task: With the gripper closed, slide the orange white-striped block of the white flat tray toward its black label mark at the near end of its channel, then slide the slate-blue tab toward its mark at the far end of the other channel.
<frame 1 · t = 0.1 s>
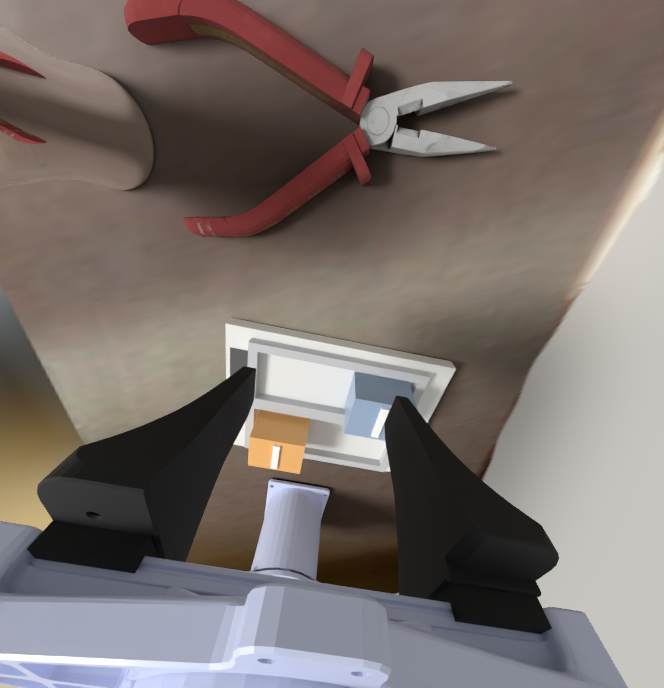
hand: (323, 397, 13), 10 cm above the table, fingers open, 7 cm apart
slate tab: (377, 408, 22), point 3 cm above the table, slide at -4.0 cm
pliers: (311, 163, 17), on the table
beer glass: (109, 135, 17), on the table
white flat tray: (328, 402, 26), on the table
orange white-striped block: (279, 441, 25), point 3 cm above the table, slide at 4.0 cm
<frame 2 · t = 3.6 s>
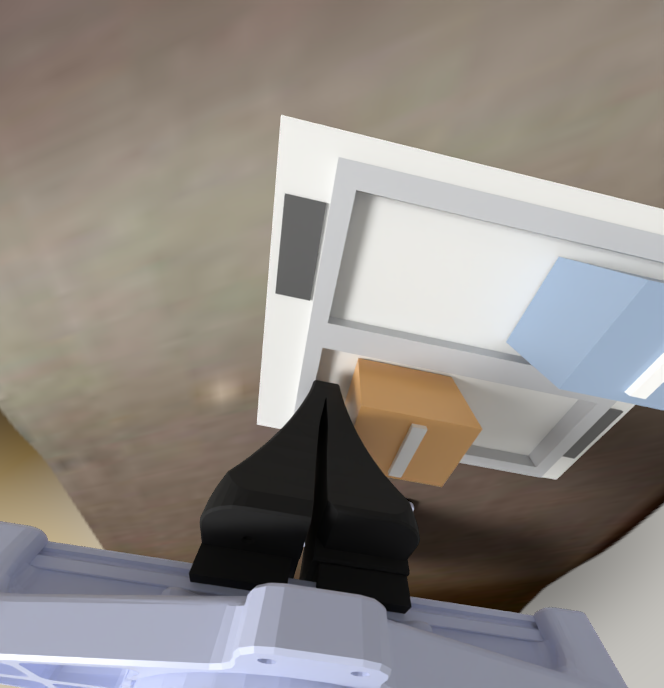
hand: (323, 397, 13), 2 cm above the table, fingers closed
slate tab: (622, 333, 10), point 3 cm above the table, slide at -4.0 cm
white flat tray: (454, 344, 14), on the table
orange white-striped block: (398, 421, 13), point 3 cm above the table, slide at 2.6 cm, touching gripper
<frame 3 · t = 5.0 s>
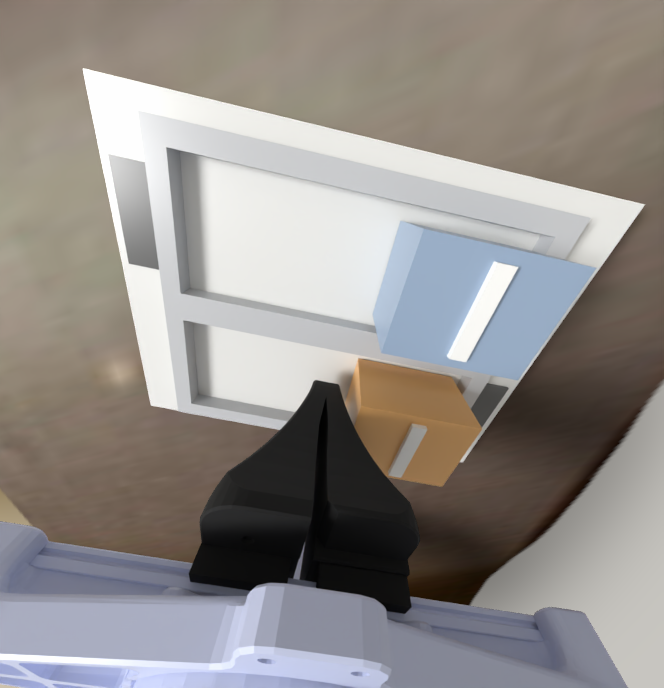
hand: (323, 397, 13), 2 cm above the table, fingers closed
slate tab: (457, 297, 9), point 3 cm above the table, slide at -4.0 cm
white flat tray: (336, 320, 14), on the table
orange white-striped block: (398, 421, 13), point 3 cm above the table, slide at -3.9 cm, touching gripper
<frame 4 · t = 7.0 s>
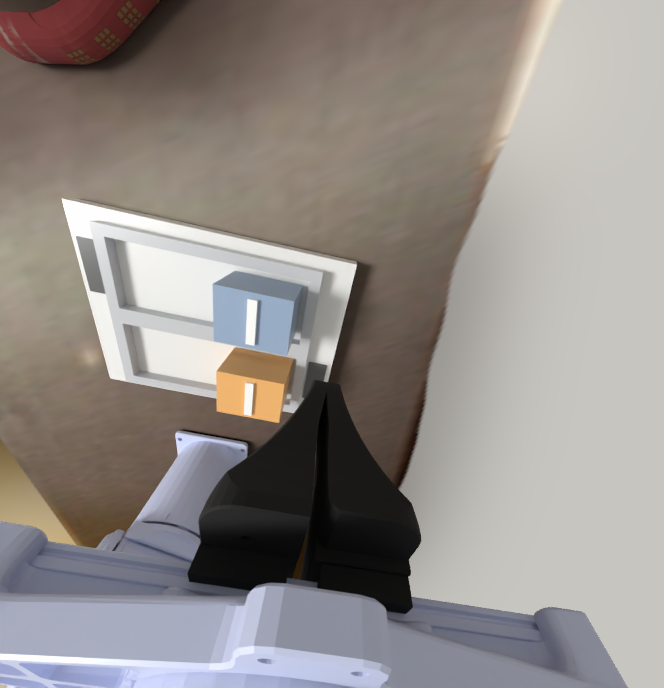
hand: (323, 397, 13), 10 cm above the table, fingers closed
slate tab: (259, 312, 18), point 3 cm above the table, slide at -4.0 cm
white flat tray: (221, 323, 22), on the table
orange white-striped block: (256, 385, 21), point 3 cm above the table, slide at -4.1 cm
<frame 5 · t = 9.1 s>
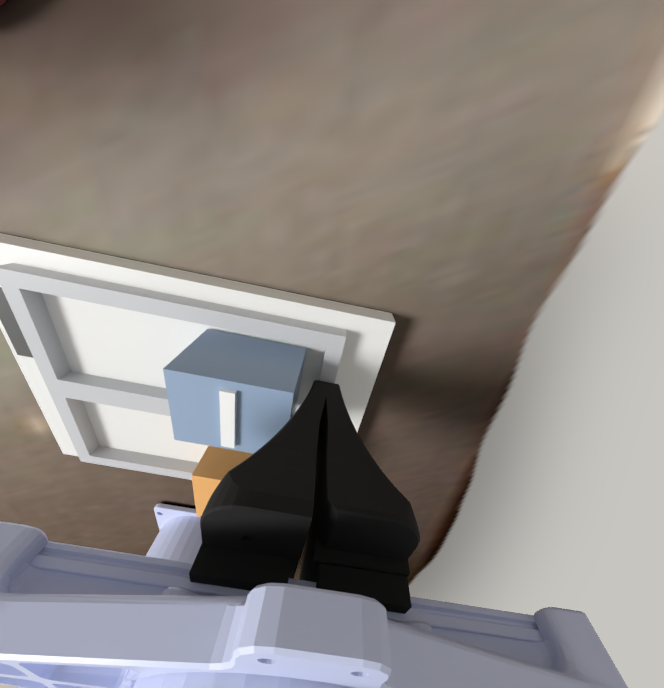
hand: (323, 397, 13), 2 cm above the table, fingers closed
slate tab: (243, 392, 12), point 3 cm above the table, slide at -3.5 cm, touching gripper
white flat tray: (204, 389, 16), on the table
orange white-striped block: (250, 476, 15), point 3 cm above the table, slide at -4.1 cm
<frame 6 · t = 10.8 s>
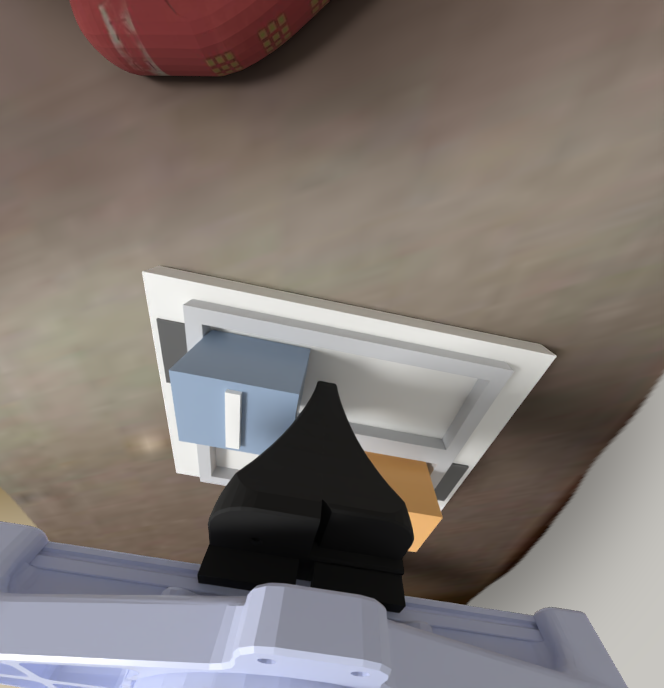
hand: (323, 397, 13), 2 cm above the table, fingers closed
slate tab: (247, 393, 12), point 3 cm above the table, slide at 4.4 cm, touching gripper
white flat tray: (329, 412, 17), on the table
orange white-striped block: (381, 499, 16), point 3 cm above the table, slide at -4.1 cm
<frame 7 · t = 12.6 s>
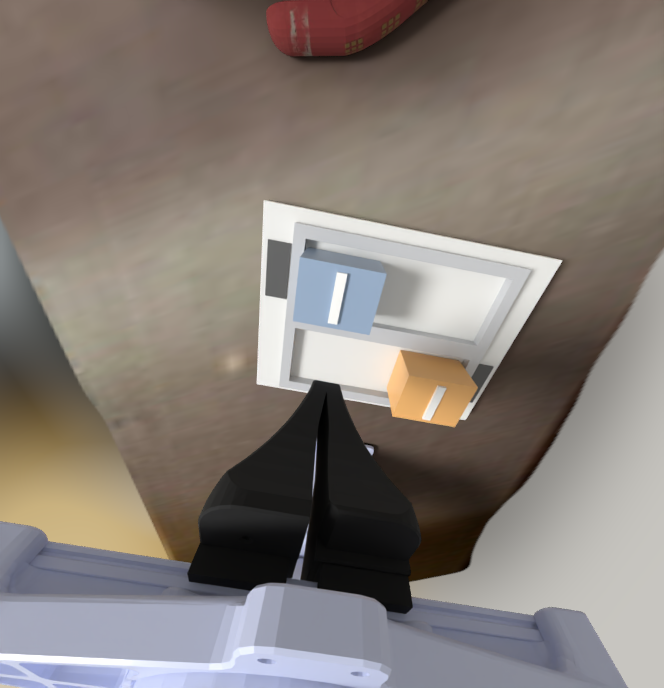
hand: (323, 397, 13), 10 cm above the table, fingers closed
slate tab: (338, 290, 17), point 3 cm above the table, slide at 4.3 cm
white flat tray: (383, 325, 21), on the table
orange white-striped block: (427, 388, 20), point 3 cm above the table, slide at -4.1 cm
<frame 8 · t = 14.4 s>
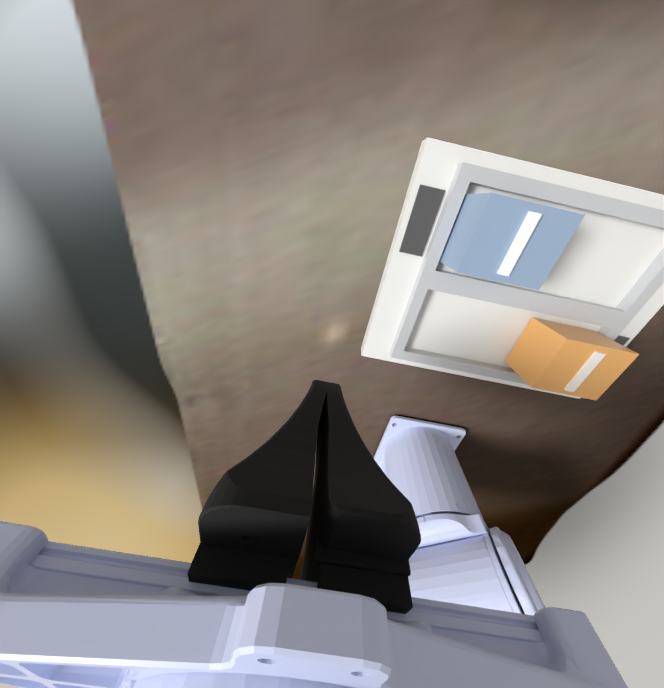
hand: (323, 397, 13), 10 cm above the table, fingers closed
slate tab: (500, 241, 15), point 3 cm above the table, slide at 4.3 cm
white flat tray: (511, 291, 20), on the table
orange white-striped block: (564, 358, 19), point 3 cm above the table, slide at -4.1 cm
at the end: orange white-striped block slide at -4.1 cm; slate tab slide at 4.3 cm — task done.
